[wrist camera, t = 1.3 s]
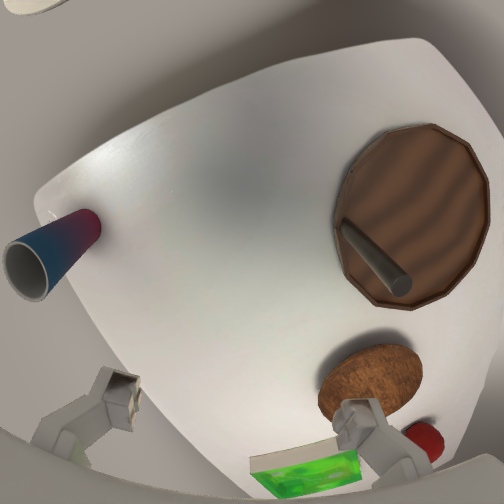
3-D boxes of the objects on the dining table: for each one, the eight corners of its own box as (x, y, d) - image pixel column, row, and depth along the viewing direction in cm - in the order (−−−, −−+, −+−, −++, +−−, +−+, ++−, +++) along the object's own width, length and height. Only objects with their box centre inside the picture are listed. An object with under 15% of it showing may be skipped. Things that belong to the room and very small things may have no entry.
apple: (390, 430, 59) (405, 471, 46) (430, 408, 56) (450, 446, 44) (398, 444, 63) (411, 480, 50) (434, 424, 60) (450, 459, 48)
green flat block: (350, 431, 57) (355, 448, 52) (358, 466, 66) (362, 479, 61) (249, 457, 59) (250, 473, 55) (278, 486, 69) (279, 499, 64)
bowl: (336, 420, 54) (341, 438, 50) (294, 363, 47) (298, 384, 42) (418, 378, 51) (428, 395, 46) (400, 308, 43) (413, 325, 39)
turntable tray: (291, 225, 36) (325, 294, 21) (423, 87, 29) (514, 78, 14) (399, 329, 43) (445, 401, 28) (500, 220, 36) (568, 259, 21)
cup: (63, 204, 35) (-5, 242, 22) (103, 200, 36) (38, 239, 22) (72, 249, 38) (13, 300, 24) (110, 248, 38) (56, 304, 24)
